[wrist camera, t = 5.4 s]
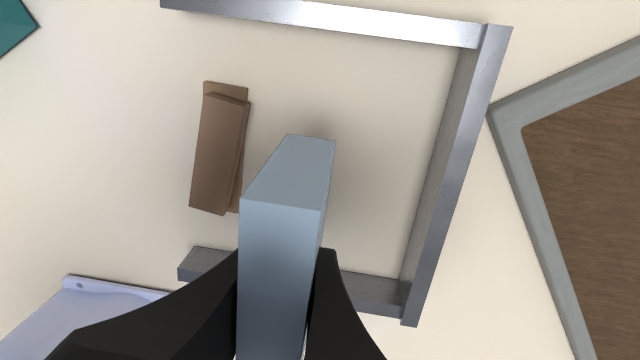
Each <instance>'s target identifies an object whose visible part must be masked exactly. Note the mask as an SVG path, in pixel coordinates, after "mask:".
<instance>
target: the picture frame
mask: <svg viewBox="0 0 640 360" xmlns="http://www.w3.org/2000/svg"><path fill="white" fill-rule="evenodd" d="M485 116H486V119H487V122H488V124H489V127H490V130H491V133H492V135H493V138H494V141H495V144H496V146H497V149H498V152H499V154H500V157H501V160H502V162H503V165H504V168H505V171H506V173H507V176H508V179H509V181H510V184H511V187H512V189H513V192H514V195H515V198H516V200H517V203H518V206H519V208H520V211H521V214H522V216H523V219H524V222H525V224H526V227H527V230H528V233H529V235H530V238H531V241H532V243H533V246H534V249H535V251H536V254H537V257H538V260H539V262H540V265H541V268H542V270H543V273H544V276H545V278H546V281H547V284H548V287H549V289H550V292H551V295H552V297H553V300H554V303H555V305H556V308H557V311H558V314H559V316H560V319H561V322H562V324H563V327H564V330H565V332H566V335H567V338H568V341H569V343H570V346H571V349H572V351H573V354H574V357H575V359H576V360H640V36H638V37H636V38H633V39H631V40H629V41H627V42H625V43H622V44H620V45H618V46H616V47H614V48H612V49H609V50H607V51H605V52H603V53H601V54H599V55H596V56H594V57H592V58H590V59H588V60H586V61H583V62H581V63H579V64H577V65H575V66H572V67H570V68H568V69H566V70H564V71H562V72H559V73H557V74H555V75H553V76H551V77H549V78H546V79H544V80H542V81H540V82H538V83H536V84H533V85H531V86H529V87H527V88H525V89H522V90H520V91H518V92H516V93H514V94H512V95H509V96H507V97H505V98H503V99H501V100H499V101H497V102H494V103H492V104H490V105H489V106H488V108H487V111H486V114H485Z"/></svg>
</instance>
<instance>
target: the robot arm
mask: <svg viewBox="0 0 640 360" xmlns="http://www.w3.org/2000/svg"><path fill="white" fill-rule="evenodd" d="M237 283H238V248H237V249H236V250H235V251H234V252H233V253H231V254H230V255H229V256H228V257H226V258H225V259H224V260H222V261H221V262H220V263H218V264H217V265H216V266H214V267H213V268H211V269H210V270H209V271H207V272H206V273H204V274H203V275H201V276H200V277H198V278H197V279H195V280H194V281H192V282H190V283H189V284H187V285H185V286H183V287H182V288H180V289H178V290H176V291H174V292H172V293H169V292H163V291H157V290H152V289H146V288H140V287H134V286H129V285H123V284H117V283H112V282H106V281H100V280H94V279H89V278H83V277H77V276H72V275H67V276H65V277H64V278H63V279H62V285H63V289H62V290H60V291H59V292H58V293H57V294H56V295H54V296H53V297H52V298H51V299H50V300H49V301H47V302H46V303H45V304H44V305H43V306H41V307H40V308H39V309H38V310H37V311H36V312H34V313H33V314H32V315H31V316H30V317H28V318H27V319H26V320H25V321H24V322H22V323H21V324H20V325H19V326H18V327H17V328H15V329H14V330H13V331H12V332H11V333H9V334H8V335H7V336H6V337H5V338H4V339H2V340H1V341H0V360H233V359H234V356H235V354H236V324H237ZM304 360H387V359H386V358H385V356H384V355H383V353H382V352H381V351H380V349H379V348H378V346H377V345H376V344H375V342H374V341H373V339H372V338H371V336H370V335H369V333H368V332H367V330H366V328H365V327H364V325H363V323H362V322H361V320H360V318H359V316H358V314H357V312H356V310H355V308H354V306H353V304H352V302H351V300H350V298H349V295H348V293H347V290H346V288H345V285H344V282H343V279H342V276H341V273H340V270H339V266H338V262H337V256H336V251H335V250H334V249H328V248H322V247H319V250H318V255H317V260H316V266H315V273H314V280H313V287H312V294H311V301H310V308H309V315H308V322H307V336H306V349H305V357H304Z"/></svg>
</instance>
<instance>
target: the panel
mask: <svg viewBox="0 0 640 360" xmlns="http://www.w3.org/2000/svg"><path fill="white" fill-rule="evenodd" d="M335 144H336V141H334V140H328V139H321V138H314V137H307V136H300V135H294V134H287V135H286V136H285V138H284V139H283V140H282V142H281V143H280V145H279V146H278V147H277V149H276V150H275V151H274V153H273V154H272V155H271V157H270V158H269V159H268V161H267V162H266V163H265V165H264V166H263V167H262V169H261V170H260V172H259V173H258V174H257V176H256V177H255V178H254V180H253V181H252V182H251V184H250V185H249V186H248V188H247V189H246V190H245V192H244V193H243V194H242V196H241V197H240V200H239V241H238V283H237V324H236V360H303V356H304V350H305V345H306V336H307V322H308V315H309V308H310V301H311V294H312V287H313V280H314V273H315V266H316V260H317V255H318V250H319V247H321V241H322V234H323V227H324V220H325V213H326V206H327V200H328V193H329V186H330V179H331V172H332V165H333V158H334V151H335Z"/></svg>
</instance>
